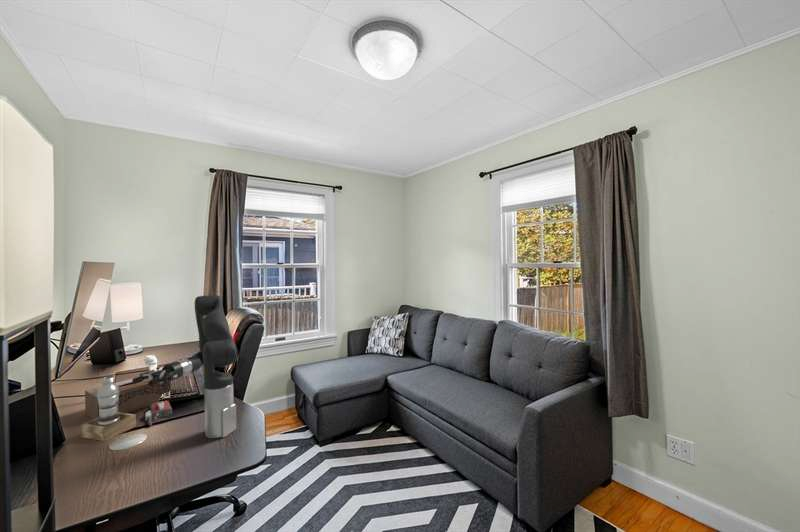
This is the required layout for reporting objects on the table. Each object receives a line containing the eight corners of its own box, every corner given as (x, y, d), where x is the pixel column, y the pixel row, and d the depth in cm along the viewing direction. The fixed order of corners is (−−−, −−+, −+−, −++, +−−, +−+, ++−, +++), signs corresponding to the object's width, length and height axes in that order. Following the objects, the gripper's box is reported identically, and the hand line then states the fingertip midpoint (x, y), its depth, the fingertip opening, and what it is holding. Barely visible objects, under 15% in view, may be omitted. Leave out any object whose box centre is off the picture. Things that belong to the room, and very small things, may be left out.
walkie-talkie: (143, 412, 138) (147, 429, 123) (143, 401, 138) (146, 418, 123) (168, 405, 144) (175, 421, 129) (168, 395, 144) (174, 410, 129)
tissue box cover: (157, 393, 159) (156, 372, 159) (171, 399, 151) (170, 377, 151) (85, 414, 137) (84, 390, 137) (97, 422, 129) (97, 397, 129)
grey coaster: (153, 436, 117) (153, 435, 117) (124, 452, 108) (124, 451, 108) (132, 433, 120) (132, 432, 120) (101, 448, 110) (101, 447, 110)
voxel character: (149, 382, 158) (143, 354, 163) (143, 392, 164) (138, 365, 169) (166, 378, 163) (160, 351, 169) (160, 388, 169) (154, 361, 175)
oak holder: (136, 426, 125) (135, 414, 125) (104, 441, 115) (104, 428, 115) (113, 423, 128) (113, 411, 128) (81, 437, 118) (80, 424, 118)
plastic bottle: (94, 437, 117) (92, 382, 117) (102, 429, 123) (100, 376, 123) (116, 433, 120) (115, 379, 119) (123, 425, 126) (122, 373, 126)
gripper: (165, 360, 150) (127, 371, 134) (190, 362, 146) (154, 374, 131) (165, 376, 150) (127, 390, 134) (190, 379, 146) (154, 393, 131)
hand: (141, 382), depth 133 cm, fingers open, 8 cm apart
